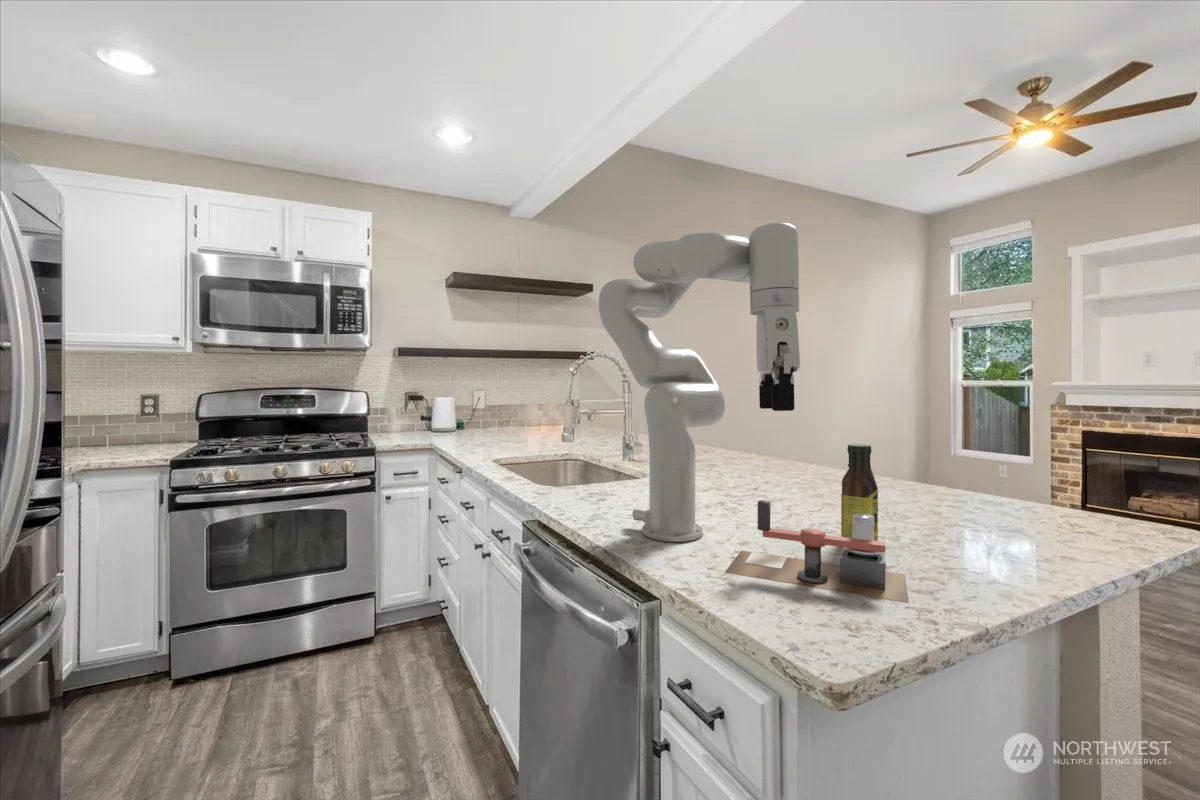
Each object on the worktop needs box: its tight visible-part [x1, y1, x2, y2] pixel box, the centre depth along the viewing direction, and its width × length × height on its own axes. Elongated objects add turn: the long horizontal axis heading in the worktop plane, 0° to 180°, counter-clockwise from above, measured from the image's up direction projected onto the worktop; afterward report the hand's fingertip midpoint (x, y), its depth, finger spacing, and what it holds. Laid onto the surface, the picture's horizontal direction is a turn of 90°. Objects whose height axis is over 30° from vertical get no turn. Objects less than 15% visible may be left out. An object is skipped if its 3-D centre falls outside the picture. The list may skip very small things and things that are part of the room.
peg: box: [843, 514, 883, 560], centre depth 83 cm, size 6×6×10 cm
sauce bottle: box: [840, 443, 879, 541], centre depth 100 cm, size 6×6×20 cm
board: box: [724, 550, 910, 604], centre depth 86 cm, size 26×12×1 cm, turn 63°
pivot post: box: [798, 545, 828, 584], centre depth 84 cm, size 4×4×5 cm
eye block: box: [839, 547, 887, 590], centre depth 83 cm, size 6×6×4 cm
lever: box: [757, 499, 886, 554], centre depth 83 cm, size 18×4×6 cm, turn 63°
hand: (775, 409), depth 86 cm, fingers open, 9 cm apart
